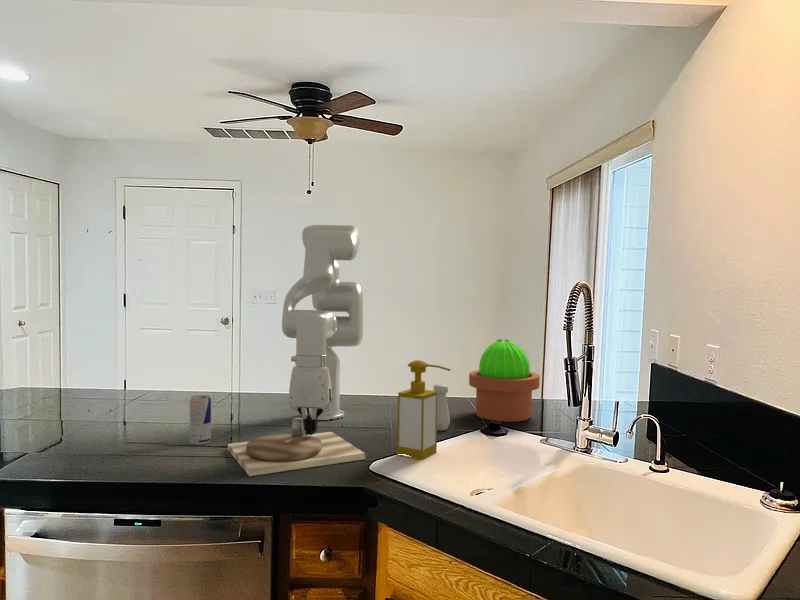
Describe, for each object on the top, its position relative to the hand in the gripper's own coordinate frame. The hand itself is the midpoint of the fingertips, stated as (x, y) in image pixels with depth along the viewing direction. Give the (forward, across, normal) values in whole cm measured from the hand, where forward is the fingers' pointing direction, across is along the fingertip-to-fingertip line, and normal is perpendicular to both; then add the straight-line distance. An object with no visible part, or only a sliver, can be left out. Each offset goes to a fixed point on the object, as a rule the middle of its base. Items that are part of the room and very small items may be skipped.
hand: (310, 433), depth 151 cm
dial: (+3, -4, -7) cm, 8 cm away
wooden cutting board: (+4, -3, -4) cm, 6 cm away
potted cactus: (+4, +46, +51) cm, 69 cm away
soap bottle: (+5, +29, +3) cm, 30 cm away
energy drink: (+5, -31, 0) cm, 31 cm away
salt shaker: (+4, +29, +30) cm, 42 cm away
